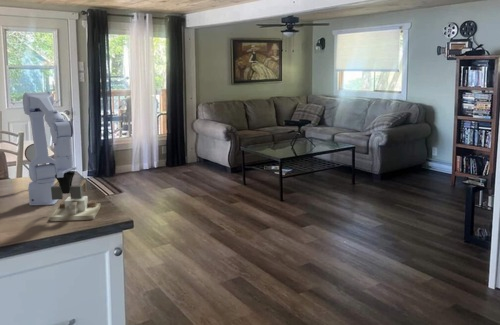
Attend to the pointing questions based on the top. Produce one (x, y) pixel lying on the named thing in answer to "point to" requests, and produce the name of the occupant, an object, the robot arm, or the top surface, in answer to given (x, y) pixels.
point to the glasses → (74, 191)
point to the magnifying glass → (30, 153)
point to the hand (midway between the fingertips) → (66, 192)
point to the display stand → (76, 209)
